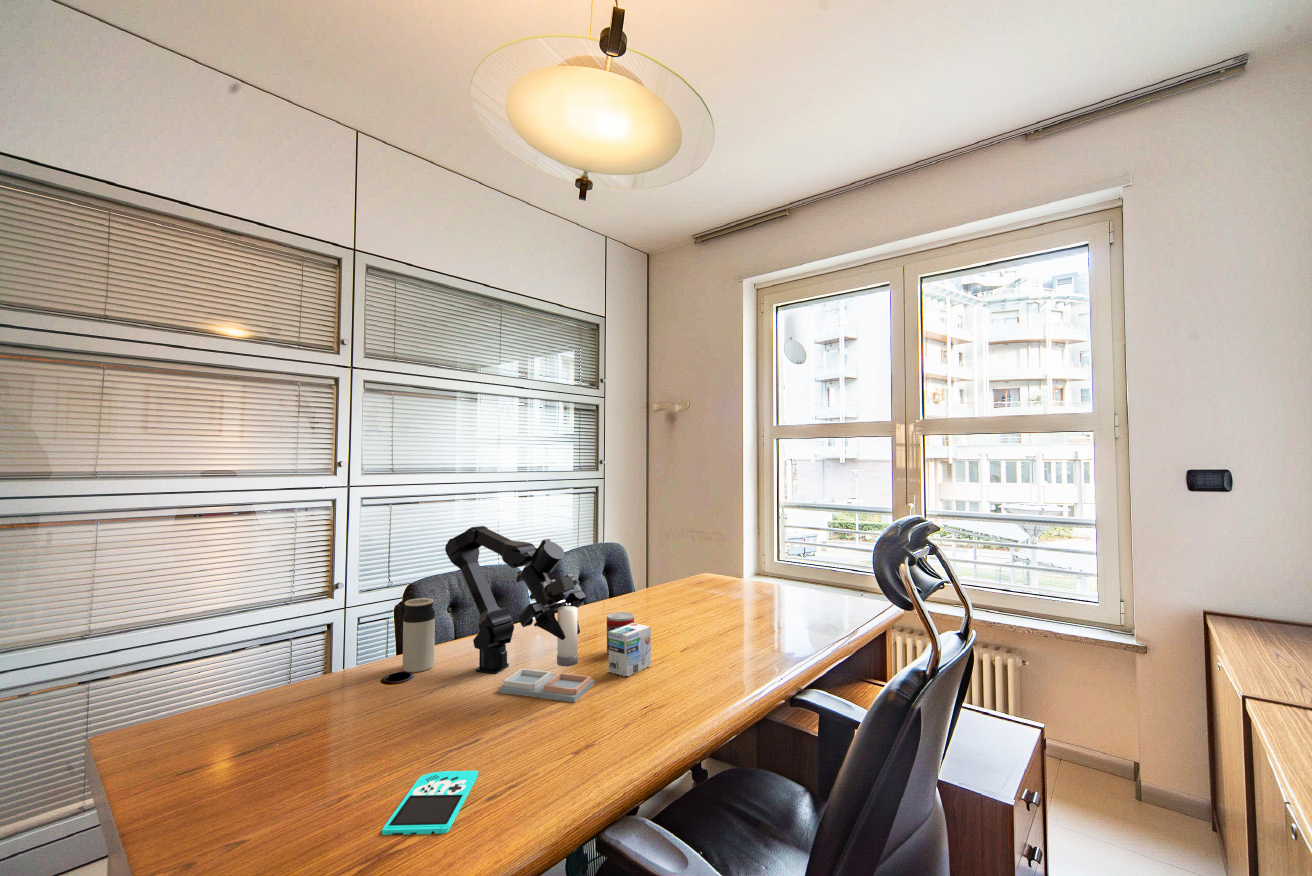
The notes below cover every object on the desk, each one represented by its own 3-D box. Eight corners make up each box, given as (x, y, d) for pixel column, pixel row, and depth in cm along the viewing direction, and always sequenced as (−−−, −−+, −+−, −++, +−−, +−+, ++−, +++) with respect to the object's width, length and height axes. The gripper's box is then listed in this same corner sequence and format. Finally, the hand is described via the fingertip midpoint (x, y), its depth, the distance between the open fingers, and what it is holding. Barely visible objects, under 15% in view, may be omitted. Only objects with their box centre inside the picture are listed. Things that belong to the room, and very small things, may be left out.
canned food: (603, 651, 164) (603, 613, 164) (628, 647, 167) (628, 610, 168) (612, 659, 157) (612, 620, 157) (638, 655, 160) (638, 616, 161)
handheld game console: (480, 777, 99) (480, 769, 99) (448, 837, 83) (448, 827, 83) (423, 778, 98) (423, 770, 98) (380, 838, 82) (380, 829, 82)
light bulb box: (626, 678, 143) (626, 635, 144) (607, 672, 147) (607, 631, 148) (652, 666, 151) (651, 625, 152) (633, 661, 156) (632, 622, 156)
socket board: (499, 692, 134) (499, 682, 135) (523, 676, 145) (523, 666, 145) (574, 702, 128) (574, 691, 128) (594, 684, 139) (594, 674, 139)
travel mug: (426, 673, 148) (427, 604, 149) (397, 673, 148) (398, 604, 149) (438, 662, 156) (439, 597, 157) (410, 662, 156) (411, 597, 157)
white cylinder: (555, 666, 133) (555, 611, 133) (558, 659, 138) (558, 606, 138) (576, 666, 133) (576, 611, 133) (578, 658, 138) (578, 605, 138)
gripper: (527, 570, 131) (561, 625, 124) (581, 559, 146) (614, 607, 139) (504, 599, 135) (536, 654, 128) (559, 585, 150) (590, 634, 144)
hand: (571, 636), depth 135 cm, fingers closed on white cylinder, 5 cm apart
